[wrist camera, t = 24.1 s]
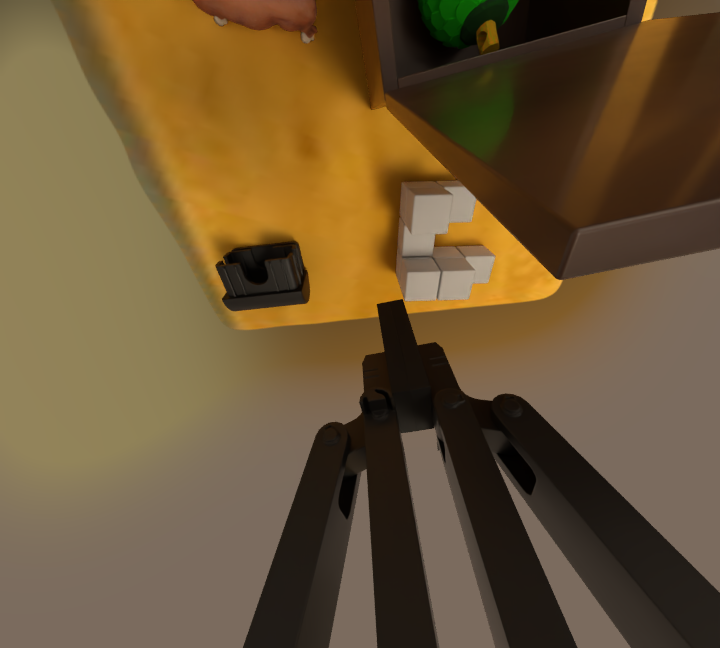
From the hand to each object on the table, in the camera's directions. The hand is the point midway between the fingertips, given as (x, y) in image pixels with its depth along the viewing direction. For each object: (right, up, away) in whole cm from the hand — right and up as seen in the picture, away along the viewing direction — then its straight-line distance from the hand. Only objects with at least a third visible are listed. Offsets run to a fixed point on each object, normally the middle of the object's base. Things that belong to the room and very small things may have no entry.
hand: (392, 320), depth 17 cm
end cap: (-14, +8, +23) cm, 28 cm away
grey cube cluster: (+9, +12, +21) cm, 26 cm away
